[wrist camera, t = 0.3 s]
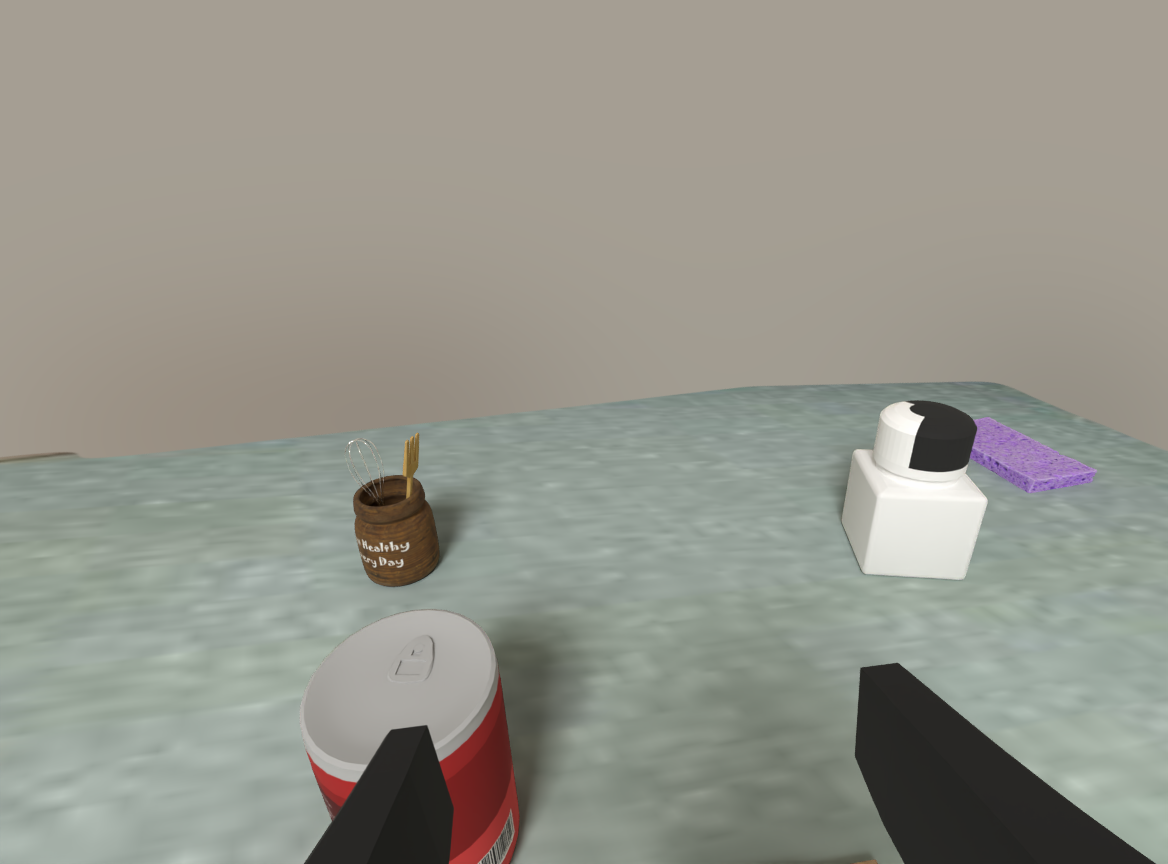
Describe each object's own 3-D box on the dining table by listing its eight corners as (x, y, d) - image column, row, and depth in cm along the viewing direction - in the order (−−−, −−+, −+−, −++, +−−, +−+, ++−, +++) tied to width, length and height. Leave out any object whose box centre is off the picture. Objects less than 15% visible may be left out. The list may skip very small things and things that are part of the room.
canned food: (513, 750, 32) (491, 594, 28) (531, 916, 25) (505, 744, 21) (369, 780, 31) (320, 623, 26) (345, 964, 24) (272, 793, 19)
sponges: (1027, 498, 53) (1033, 480, 52) (928, 438, 64) (931, 423, 63) (1093, 487, 54) (1099, 469, 53) (984, 430, 65) (988, 415, 65)
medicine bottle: (929, 526, 49) (963, 392, 44) (966, 582, 43) (1010, 434, 38) (839, 521, 50) (862, 391, 45) (862, 576, 44) (890, 431, 39)
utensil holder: (395, 537, 51) (367, 411, 46) (458, 550, 49) (436, 419, 44) (349, 581, 46) (311, 444, 41) (417, 597, 44) (387, 455, 39)
